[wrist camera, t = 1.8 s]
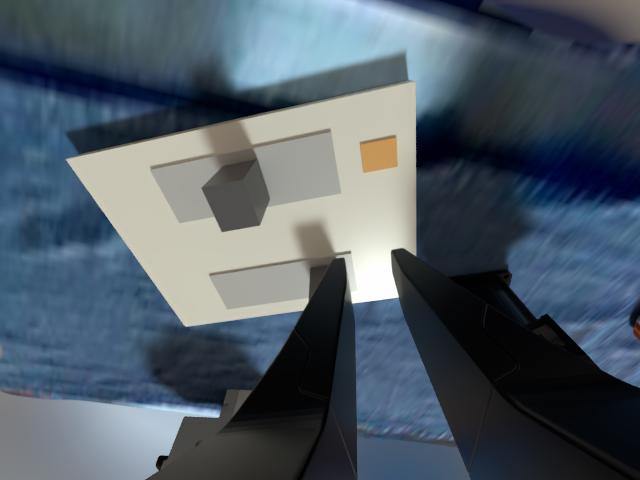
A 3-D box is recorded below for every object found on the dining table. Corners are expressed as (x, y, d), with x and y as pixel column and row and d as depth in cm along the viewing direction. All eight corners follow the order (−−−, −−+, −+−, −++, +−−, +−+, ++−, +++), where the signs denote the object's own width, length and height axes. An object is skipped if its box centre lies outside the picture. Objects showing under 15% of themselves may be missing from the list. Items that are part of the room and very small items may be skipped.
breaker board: (408, 80, 17) (416, 81, 16) (412, 284, 27) (417, 296, 25) (81, 153, 20) (63, 160, 18) (191, 315, 29) (184, 328, 28)
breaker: (338, 263, 23) (341, 296, 20) (343, 288, 25) (347, 323, 21) (310, 268, 23) (308, 301, 20) (317, 292, 25) (316, 327, 22)
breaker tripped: (257, 159, 18) (243, 179, 15) (270, 198, 20) (260, 225, 16) (222, 166, 18) (201, 187, 15) (238, 204, 20) (221, 232, 17)
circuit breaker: (183, 386, 37) (113, 548, 25) (285, 392, 38) (267, 552, 26) (191, 412, 41) (134, 563, 29) (283, 417, 42) (267, 565, 30)
